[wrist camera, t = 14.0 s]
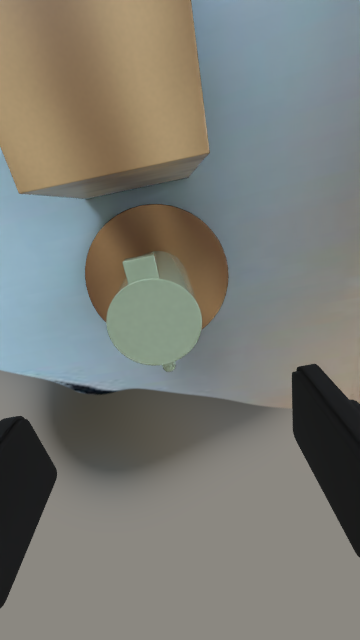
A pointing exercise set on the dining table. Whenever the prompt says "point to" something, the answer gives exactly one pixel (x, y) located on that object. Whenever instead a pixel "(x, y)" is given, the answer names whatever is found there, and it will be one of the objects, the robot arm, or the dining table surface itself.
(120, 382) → the dining table surface
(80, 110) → the shelf unit
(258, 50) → the dining table surface
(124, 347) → the jug
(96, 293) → the disc
